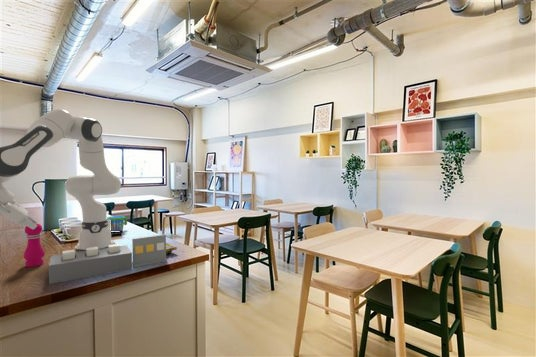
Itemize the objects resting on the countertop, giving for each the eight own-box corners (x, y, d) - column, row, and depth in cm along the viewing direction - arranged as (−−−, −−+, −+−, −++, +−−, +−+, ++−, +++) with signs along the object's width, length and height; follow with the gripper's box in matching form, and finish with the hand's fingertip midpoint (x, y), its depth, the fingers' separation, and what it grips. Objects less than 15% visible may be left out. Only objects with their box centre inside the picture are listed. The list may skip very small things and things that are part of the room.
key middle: (86, 258, 118) (86, 247, 118) (97, 256, 121) (97, 246, 121) (86, 261, 115) (86, 250, 115) (98, 259, 117) (98, 248, 117)
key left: (63, 262, 114) (62, 251, 114) (75, 260, 116) (74, 249, 116) (62, 264, 111) (62, 253, 110) (75, 262, 113) (74, 251, 113)
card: (132, 264, 126) (131, 237, 126) (164, 258, 134) (164, 233, 134) (134, 267, 122) (133, 240, 122) (167, 261, 130) (166, 235, 129)
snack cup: (121, 228, 198) (121, 214, 197) (132, 230, 193) (131, 215, 192) (100, 233, 184) (99, 218, 183) (110, 235, 179) (110, 219, 178)
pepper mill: (32, 262, 129) (30, 218, 128) (48, 261, 129) (47, 218, 128) (19, 267, 121) (17, 221, 121) (37, 267, 122) (35, 221, 121)
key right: (108, 255, 123) (108, 245, 123) (118, 253, 125) (118, 243, 125) (109, 257, 120) (109, 247, 119) (119, 255, 122) (119, 245, 122)
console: (51, 272, 116) (51, 255, 116) (127, 260, 132) (126, 245, 132) (49, 284, 104) (48, 265, 104) (132, 268, 120) (131, 252, 120)
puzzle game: (158, 238, 155) (176, 245, 141) (158, 246, 155) (176, 254, 141) (136, 242, 146) (154, 250, 133) (136, 251, 146) (154, 260, 133)
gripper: (5, 196, 93) (43, 222, 99) (10, 194, 109) (42, 217, 115) (-14, 210, 90) (26, 237, 97) (-6, 206, 106) (28, 229, 112)
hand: (35, 226), depth 106 cm, fingers open, 8 cm apart
